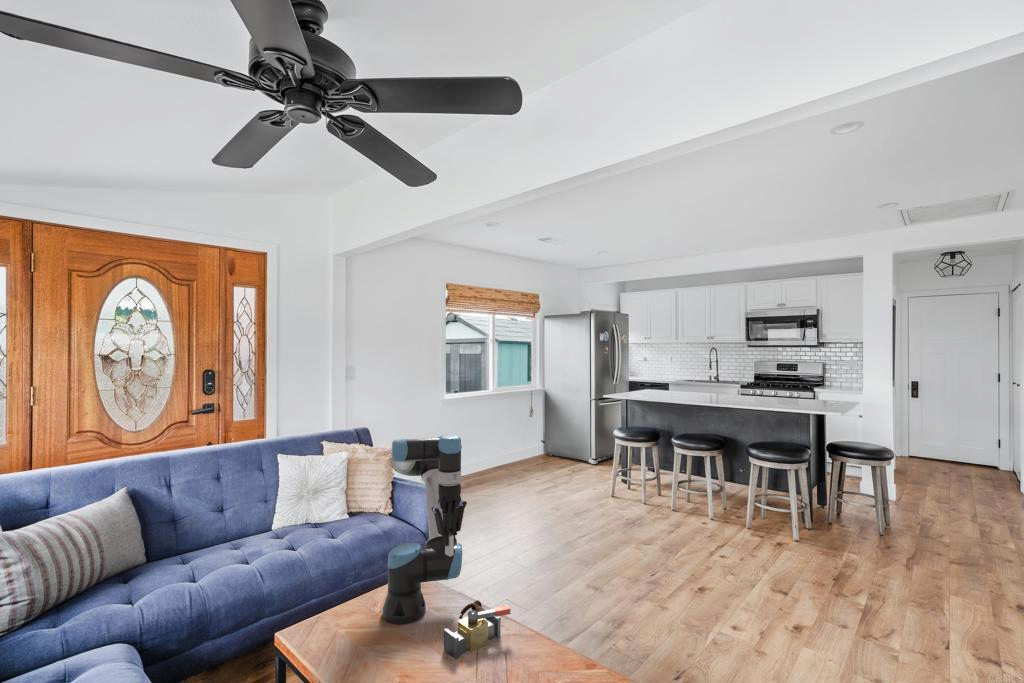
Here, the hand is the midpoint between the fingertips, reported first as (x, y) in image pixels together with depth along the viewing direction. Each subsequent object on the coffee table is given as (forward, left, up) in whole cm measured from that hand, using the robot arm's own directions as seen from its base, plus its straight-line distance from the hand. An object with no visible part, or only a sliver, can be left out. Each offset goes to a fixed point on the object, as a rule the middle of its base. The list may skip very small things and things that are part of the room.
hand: (449, 554), depth 164 cm
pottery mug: (+1, +10, -27) cm, 29 cm away
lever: (+11, +8, -19) cm, 23 cm away
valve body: (+9, +3, -26) cm, 28 cm away
